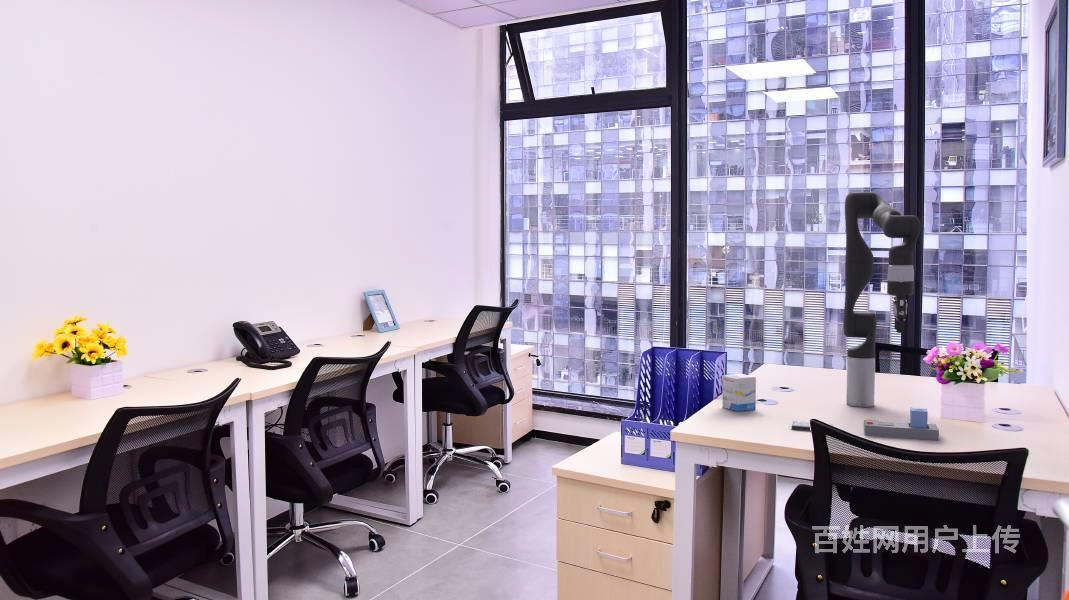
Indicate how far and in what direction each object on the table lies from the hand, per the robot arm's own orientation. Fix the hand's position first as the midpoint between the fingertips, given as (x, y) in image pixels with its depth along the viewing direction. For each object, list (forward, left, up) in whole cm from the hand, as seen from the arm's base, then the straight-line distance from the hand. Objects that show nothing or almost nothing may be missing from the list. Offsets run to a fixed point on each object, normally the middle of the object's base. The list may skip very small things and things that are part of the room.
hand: (899, 331), depth 245 cm
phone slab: (+12, -25, -30) cm, 41 cm away
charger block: (+12, +5, -30) cm, 33 cm away
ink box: (-11, -50, -30) cm, 60 cm away
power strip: (+12, 0, -30) cm, 32 cm away
